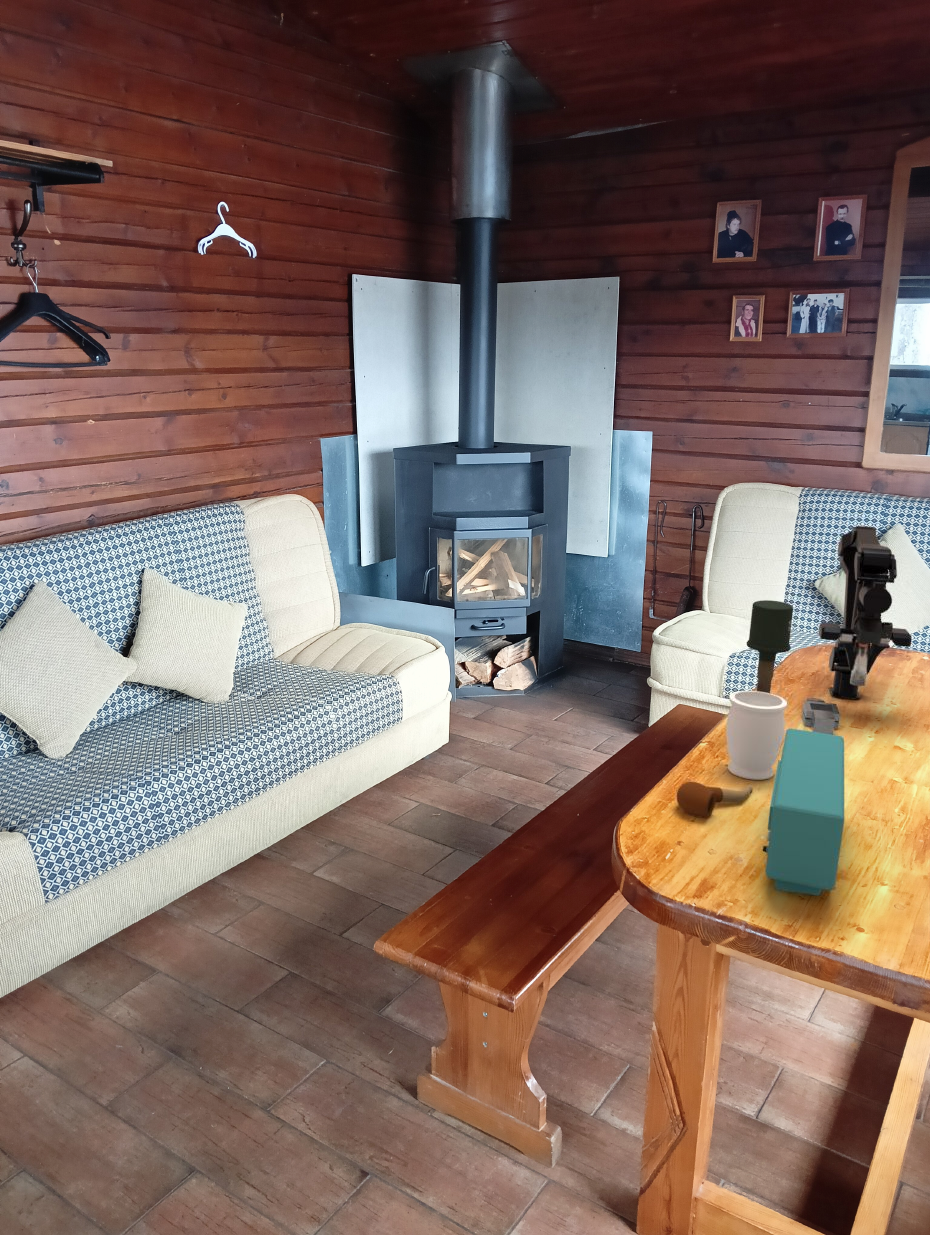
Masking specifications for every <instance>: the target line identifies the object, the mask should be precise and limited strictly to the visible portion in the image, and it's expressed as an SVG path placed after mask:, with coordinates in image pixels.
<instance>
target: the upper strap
mask: <svg viewBox="0 0 930 1235" xmlns="http://www.w3.org/2000/svg"><path fill="white" fill-rule="evenodd" d="M802 709H803V710H804V714H805V718H813V720H812V727H811V729H812V732H818V733H825V734H832V735H834V731H835V729H834V724H835V721H838V722H840V717H841V713H840V710H839V708H838V705H837V703H831V702H825V703H822V702H813V701H807V700H803V703H802Z"/></svg>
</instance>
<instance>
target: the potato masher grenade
mask: <svg viewBox="0 0 930 1235" xmlns="http://www.w3.org/2000/svg"><path fill="white" fill-rule="evenodd" d="M751 607H752V608H751V618H750V626H749V633H748V634H749V636H748V640H747V641H746V647H748V648H749V649H751V650H754V651H757V652H758V662H757V663H758V664H757V665H758V666H757V672H756V673H757V674H756V675H757V684H756V691H758V692H765V693H770V694H771V689H772V688H771V687H772V681H773V677H774V673H775V672H774V671H775V662H776V659H777V658H776V657H777V655H778V654H781V653H787V652H790V650H791V648H792V647H791V645H790V640H791V633H792V624H793V623H792V622H793V616H794V615H793V614H794V606H793V605H791V604H790V603H787V602H783V601H780V600H779V601H778V600H768V599H765V600H756V601H754V602H753V603H752V606H751Z"/></svg>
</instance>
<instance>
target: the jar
mask: <svg viewBox="0 0 930 1235" xmlns="http://www.w3.org/2000/svg"><path fill="white" fill-rule="evenodd" d="M728 701H729V702H730V704H731V706H730V708H729V710H728V714H727V720H726V726H725V727H726V728H725V729H726V730H725V731H726V733H725V734H726V746H727V747H726V748H727V753H728V756H729V757H728V758H729V759H730V762H729V763H728V766H727V768H728V771H729V772H730V773H731V774H733V775H735V776H737V777H739V778H743V779H748V780H753V781H759V780H760V781H761V780H769V779H770V778H772V777H773V776H774V774H775V773H774V769H773V767H774V765H775V763H776V761H778V760H777V759H778V757H779V754H780V749H781V746H782V744H783V740H784V738H785V728H786V721H785V713H784V711H785V710H786V709H787V708H788V701H787V700H786V699H785V698H783V697H781V696H779V695H776V694H772V693H771V692H770V693H765V692H758V691H757V690H739V691H738V690H737V691H735V692H732V693H730V695H729V699H728Z"/></svg>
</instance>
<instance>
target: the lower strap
mask: <svg viewBox="0 0 930 1235" xmlns="http://www.w3.org/2000/svg"><path fill="white" fill-rule="evenodd" d="M806 701H813V702H822V703H826V702H825V700H824V699H821V698H817V697H808V698H807V699H806ZM801 718H802V722H803V726H804V727H809V728H812V720H813V718H805V714H804V710H803V708H802V710H801ZM839 725H840V721H835V724H834V730H836V729H837V730H839ZM837 730H836V731H837Z"/></svg>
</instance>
